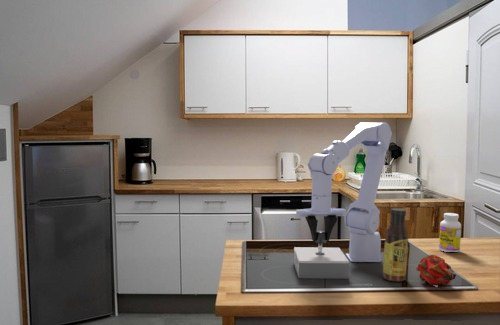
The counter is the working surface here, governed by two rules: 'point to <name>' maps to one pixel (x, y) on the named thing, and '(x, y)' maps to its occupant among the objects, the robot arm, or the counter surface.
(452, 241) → the supplement bottle
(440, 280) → the dragon fruit
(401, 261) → the sauce bottle
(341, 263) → the slotted white block
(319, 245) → the plunger
